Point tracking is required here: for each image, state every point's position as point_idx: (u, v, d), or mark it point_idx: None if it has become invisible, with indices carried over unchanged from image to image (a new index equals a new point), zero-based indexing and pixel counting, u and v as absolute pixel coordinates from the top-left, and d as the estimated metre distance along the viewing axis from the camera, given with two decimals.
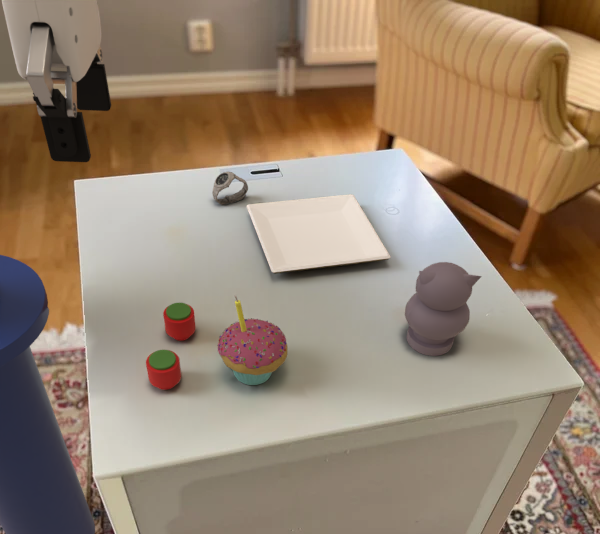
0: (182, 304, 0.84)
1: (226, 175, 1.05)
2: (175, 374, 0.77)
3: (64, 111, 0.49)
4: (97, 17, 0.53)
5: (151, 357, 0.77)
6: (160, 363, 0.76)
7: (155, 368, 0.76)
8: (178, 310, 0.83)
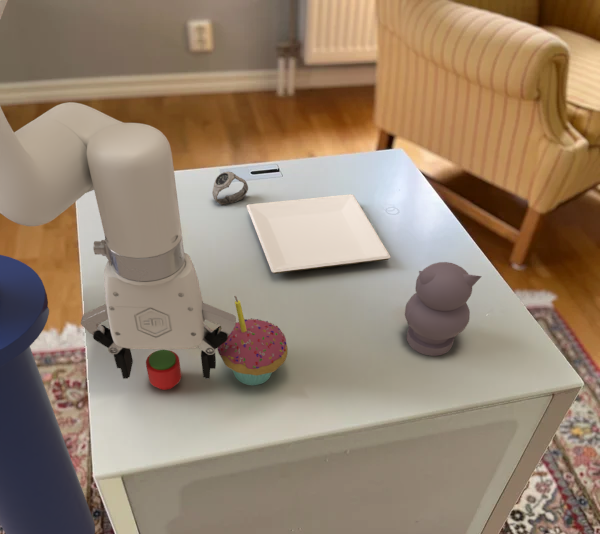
0: None
1: (226, 175, 1.05)
2: (175, 374, 0.77)
3: None
4: None
5: (151, 357, 0.77)
6: (160, 363, 0.76)
7: (155, 368, 0.76)
8: None
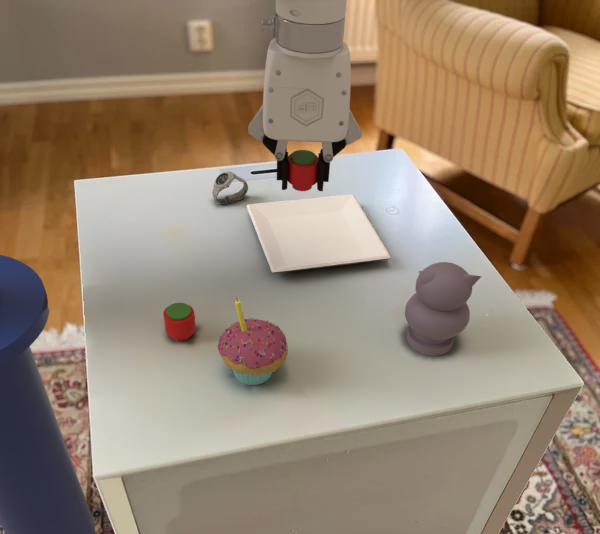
0: (182, 304, 0.84)
1: (226, 175, 1.05)
2: (315, 171, 0.81)
3: None
4: None
5: (293, 154, 0.80)
6: (302, 159, 0.80)
7: (298, 163, 0.79)
8: (178, 310, 0.83)
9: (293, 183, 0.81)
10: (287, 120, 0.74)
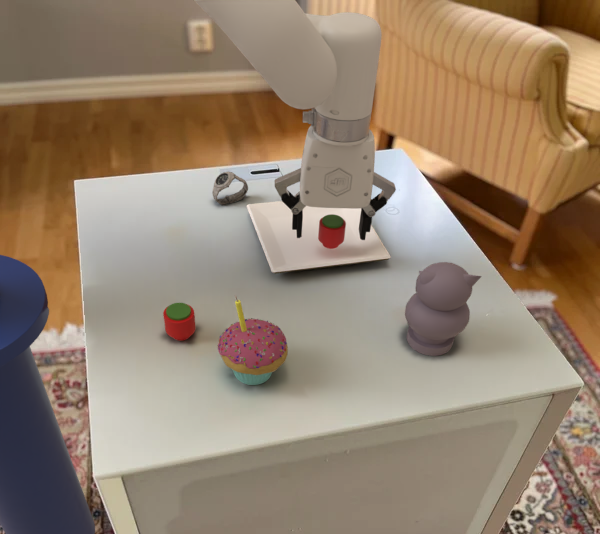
0: (182, 304, 0.84)
1: (226, 175, 1.05)
2: (343, 233, 0.95)
3: None
4: None
5: (324, 219, 0.95)
6: (332, 223, 0.94)
7: (329, 226, 0.94)
8: (178, 310, 0.83)
9: (324, 242, 0.96)
10: (321, 192, 0.88)
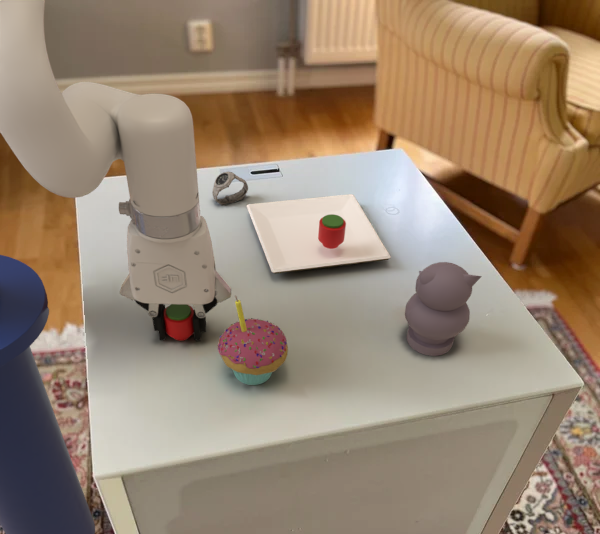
0: (182, 304, 0.84)
1: (226, 175, 1.05)
2: (343, 233, 0.95)
3: None
4: None
5: (324, 219, 0.95)
6: (332, 223, 0.94)
7: (329, 226, 0.94)
8: (178, 310, 0.83)
9: (324, 242, 0.96)
10: (153, 288, 0.77)
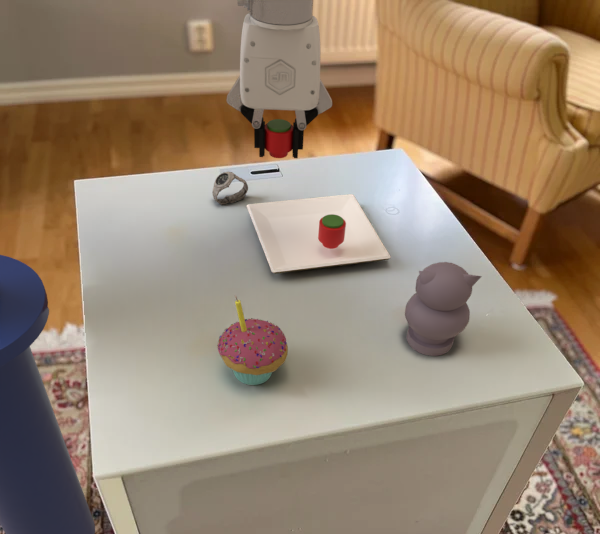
0: (282, 120, 0.87)
1: (226, 175, 1.05)
2: (343, 233, 0.95)
3: None
4: None
5: (324, 219, 0.95)
6: (332, 223, 0.94)
7: (329, 226, 0.94)
8: (279, 124, 0.86)
9: (324, 242, 0.96)
10: (262, 89, 0.80)
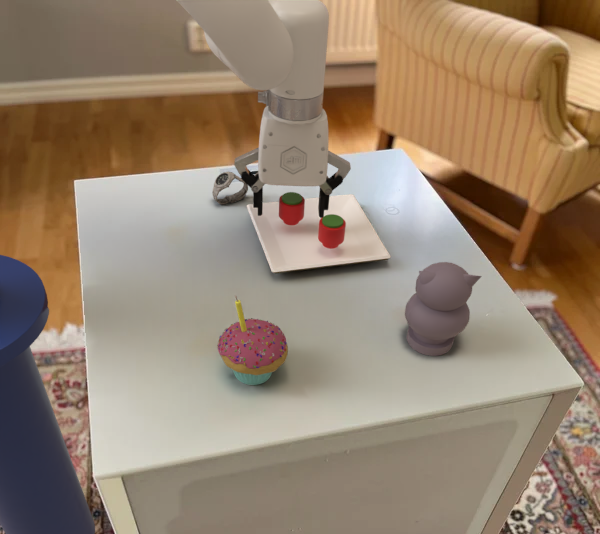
0: (294, 193, 0.99)
1: (226, 175, 1.05)
2: (343, 233, 0.95)
3: None
4: None
5: (324, 219, 0.95)
6: (332, 223, 0.94)
7: (328, 226, 0.94)
8: (292, 197, 0.99)
9: (324, 242, 0.96)
10: (278, 170, 0.92)
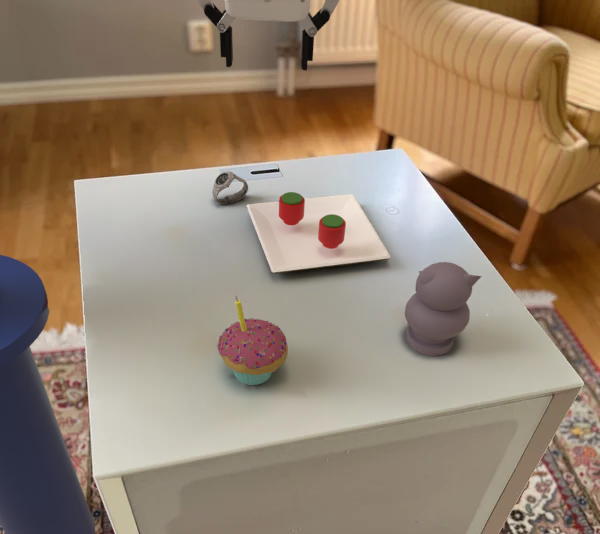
0: (294, 193, 0.99)
1: (226, 175, 1.05)
2: (343, 233, 0.95)
3: None
4: None
5: (324, 219, 0.95)
6: (332, 223, 0.94)
7: (328, 226, 0.94)
8: (292, 197, 0.99)
9: (324, 242, 0.96)
10: None
